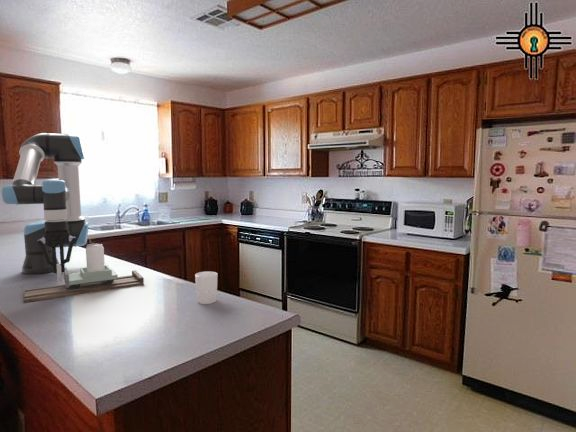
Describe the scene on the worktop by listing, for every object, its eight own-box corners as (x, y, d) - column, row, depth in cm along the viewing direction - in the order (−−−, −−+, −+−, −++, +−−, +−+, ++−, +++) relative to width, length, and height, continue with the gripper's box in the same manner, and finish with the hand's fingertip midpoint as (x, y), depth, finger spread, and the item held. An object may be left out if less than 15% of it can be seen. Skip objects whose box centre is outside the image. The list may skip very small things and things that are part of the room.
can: (97, 276, 153) (96, 246, 152) (83, 275, 155) (81, 245, 153) (108, 272, 159) (107, 243, 158) (94, 271, 161) (93, 242, 160)
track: (25, 292, 151) (24, 284, 150) (135, 276, 173) (135, 270, 173) (24, 302, 138) (23, 294, 138) (143, 284, 160) (143, 277, 160)
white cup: (221, 299, 142) (221, 272, 141) (210, 305, 134) (210, 277, 133) (203, 296, 144) (202, 270, 143) (191, 303, 137) (190, 275, 136)
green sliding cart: (64, 282, 157) (63, 267, 156) (112, 276, 167) (111, 262, 166) (66, 290, 146) (65, 274, 145) (117, 283, 156) (117, 268, 155)
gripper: (74, 218, 154) (77, 276, 157) (35, 220, 147) (39, 281, 150) (76, 220, 148) (79, 280, 150) (35, 222, 141) (39, 285, 143)
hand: (59, 280), depth 150 cm, fingers closed
